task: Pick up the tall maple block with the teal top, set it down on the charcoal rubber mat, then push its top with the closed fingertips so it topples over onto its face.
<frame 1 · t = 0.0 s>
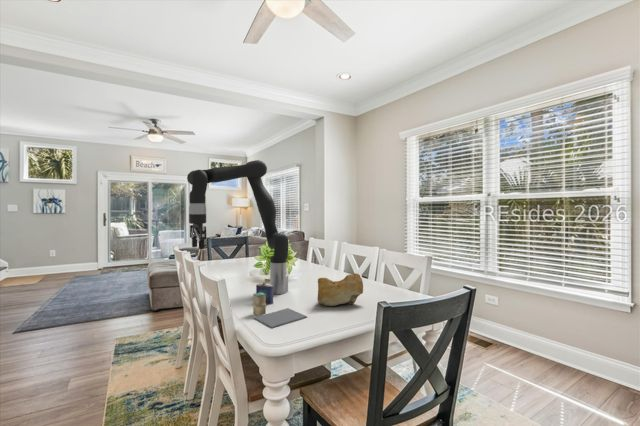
hand: (197, 247, 143), 29 cm above the table, fingers open, 8 cm apart
flask: (264, 303, 155), on the table
rubber mat: (280, 318, 134), on the table
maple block: (259, 313, 139), on the table
rough brown rock: (338, 302, 157), on the table
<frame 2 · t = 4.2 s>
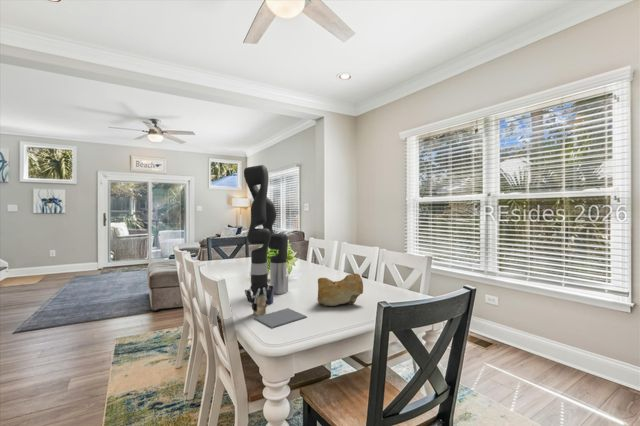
hand: (259, 309, 139), 2 cm above the table, fingers closed on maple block, 4 cm apart
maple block: (259, 313, 139), on the table, touching gripper
everything else where it was.
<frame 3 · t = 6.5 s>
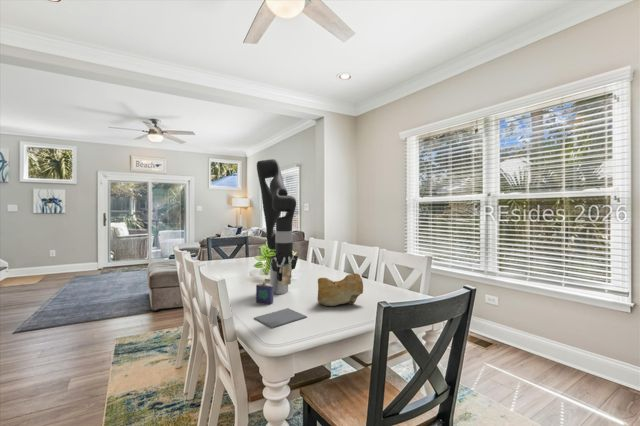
hand: (284, 279, 135), 16 cm above the table, fingers closed on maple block, 4 cm apart
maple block: (284, 284, 135), point 15 cm above the table, touching gripper
everything else where it was.
when the fingers open (4 cm above the table, at t = 9.0 s): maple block drops 1 cm, resting on rubber mat.
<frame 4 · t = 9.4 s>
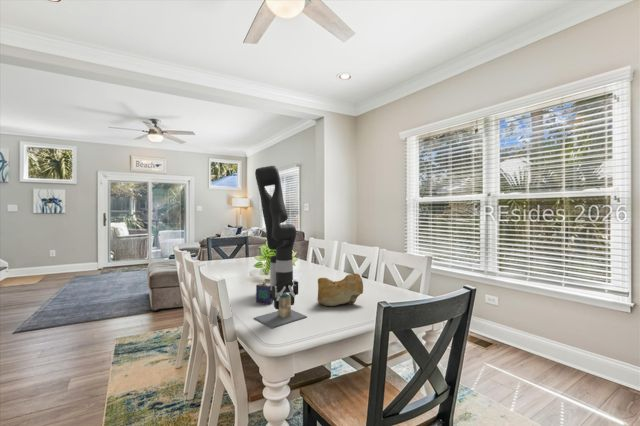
hand: (284, 306, 135), 5 cm above the table, fingers open, 7 cm apart
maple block: (284, 315, 135), point 1 cm above the table, touching rubber mat
everything else where it was.
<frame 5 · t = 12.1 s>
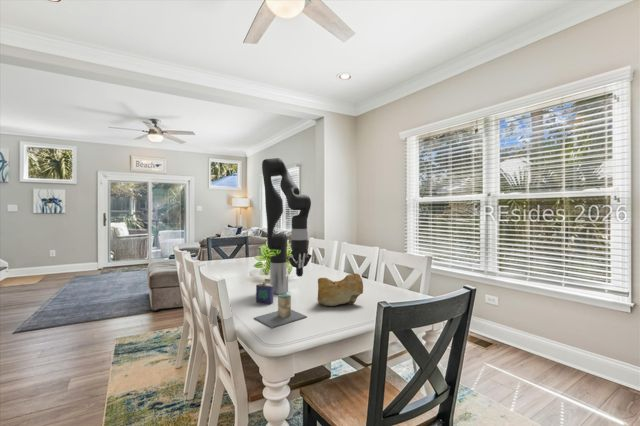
hand: (299, 276, 141), 17 cm above the table, fingers closed
nothing on the table moved.
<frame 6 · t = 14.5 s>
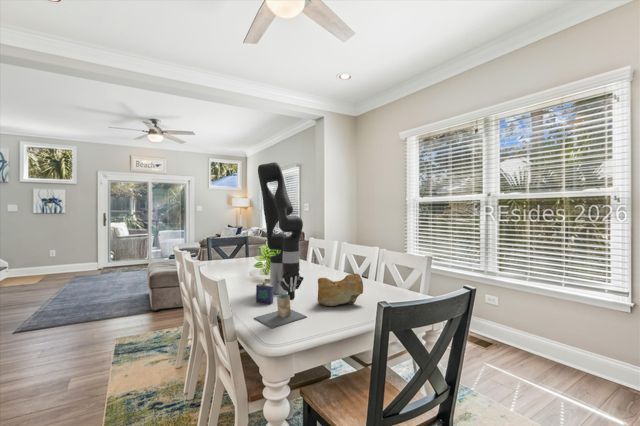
hand: (291, 299, 137), 7 cm above the table, fingers closed
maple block: (284, 315, 135), point 1 cm above the table, touching gripper, rubber mat
everything else where it was.
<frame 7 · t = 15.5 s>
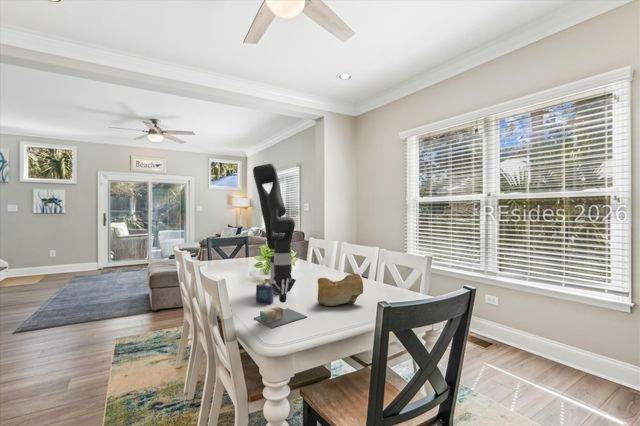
hand: (282, 302, 134), 7 cm above the table, fingers closed
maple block: (280, 312, 134), point 3 cm above the table, tilted 90°, touching rubber mat
everything else where it was.
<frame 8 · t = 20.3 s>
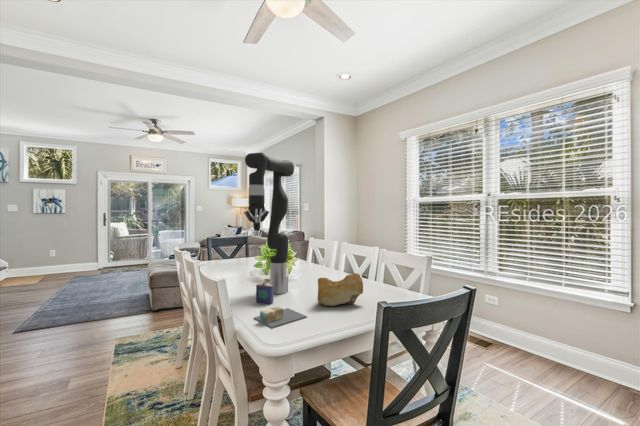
hand: (256, 230, 148), 37 cm above the table, fingers closed
nothing on the table moved.
at the end: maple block tilted 90°; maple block inside the target area (2.1 cm from its centre), point 2.6 cm above the table; the gripper is holding nothing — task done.
